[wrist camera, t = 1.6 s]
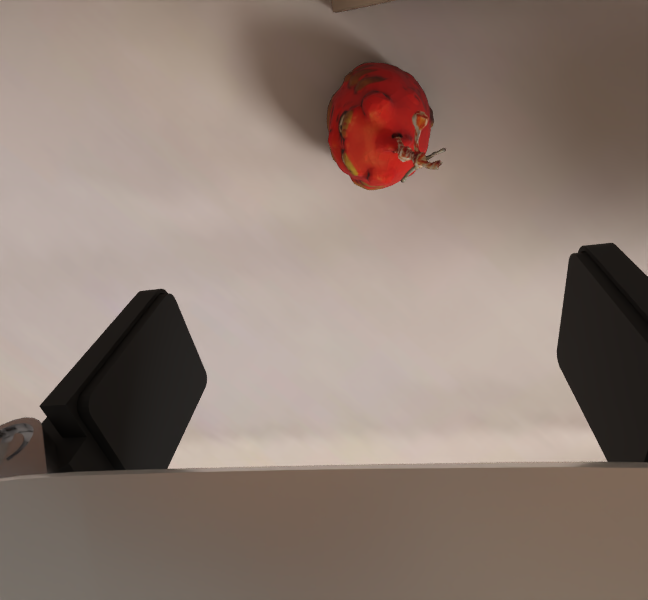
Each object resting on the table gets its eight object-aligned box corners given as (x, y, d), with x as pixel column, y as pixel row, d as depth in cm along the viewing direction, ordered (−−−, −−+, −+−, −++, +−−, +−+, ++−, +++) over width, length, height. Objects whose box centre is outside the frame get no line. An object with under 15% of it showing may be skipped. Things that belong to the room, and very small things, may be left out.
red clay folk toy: (321, 70, 31) (278, 109, 18) (424, 46, 29) (454, 70, 17) (342, 177, 34) (318, 270, 22) (434, 160, 33) (465, 250, 20)
